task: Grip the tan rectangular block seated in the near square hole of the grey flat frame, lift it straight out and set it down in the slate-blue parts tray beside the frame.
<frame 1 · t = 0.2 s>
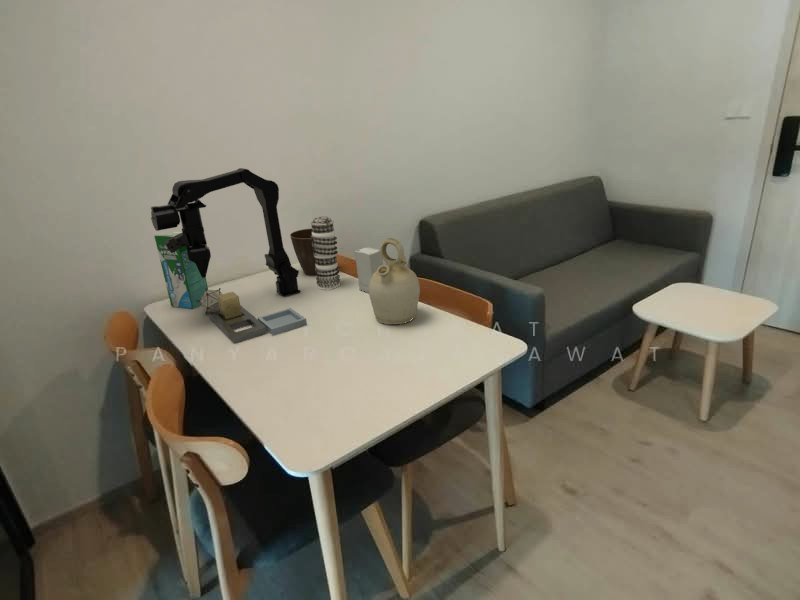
hand: (202, 273, 152), 14 cm above the table, tool pointing down, fingers open, 9 cm apart
jug: (395, 317, 150), on the table
skincare box: (371, 291, 172), on the table
patterned tower model: (328, 286, 178), on the table
game die: (215, 312, 160), on the table
milk carton: (191, 303, 168), on the table
parts tray: (282, 324, 149), on the table
plant pot: (314, 273, 193), on the table
grey flat frame: (238, 326, 149), on the table
tan rectangular block: (232, 321, 153), resting in grey flat frame
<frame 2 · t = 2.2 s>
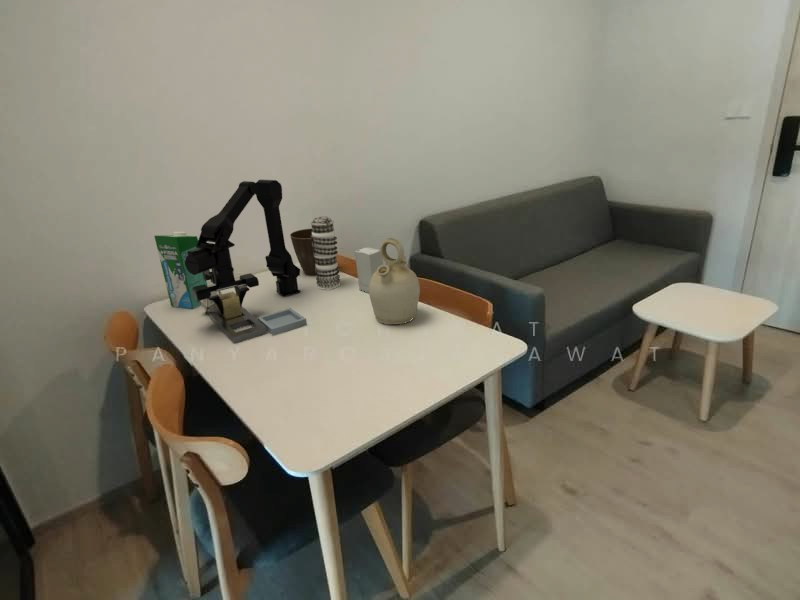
hand: (230, 312, 151), 3 cm above the table, tool pointing down, fingers closed on tan rectangular block, 5 cm apart
tan rectangular block: (232, 320, 153), resting in grey flat frame, touching gripper
everything else where it was.
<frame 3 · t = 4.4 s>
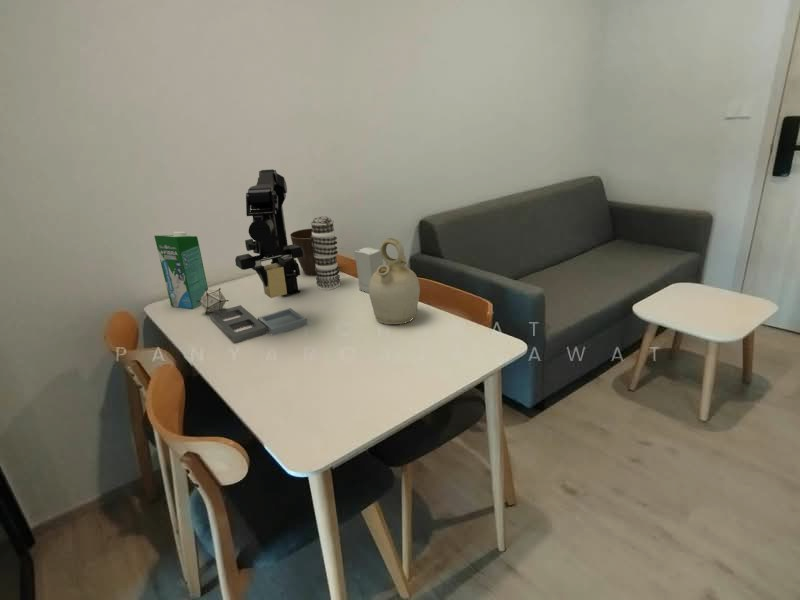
hand: (274, 284, 144), 13 cm above the table, tool pointing down, fingers closed on tan rectangular block, 5 cm apart
tan rectangular block: (275, 293, 145), point 10 cm above the table, touching gripper
everything else where it was.
when the fingers open (5 cm above the table, at t = 6.4 s): tan rectangular block drops 1 cm, resting on parts tray.
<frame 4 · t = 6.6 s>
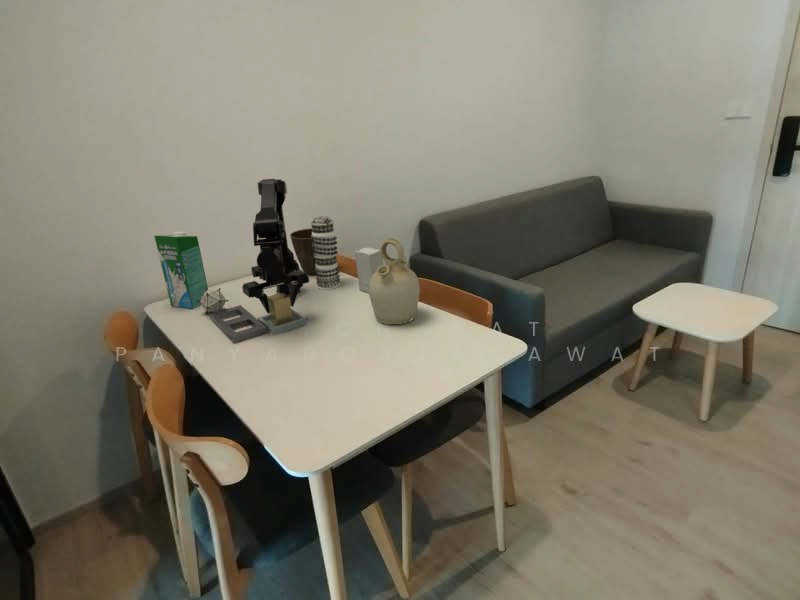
hand: (280, 309, 147), 5 cm above the table, tool pointing down, fingers open, 7 cm apart
tan rectangular block: (282, 322, 149), resting on parts tray
everything else where it was.
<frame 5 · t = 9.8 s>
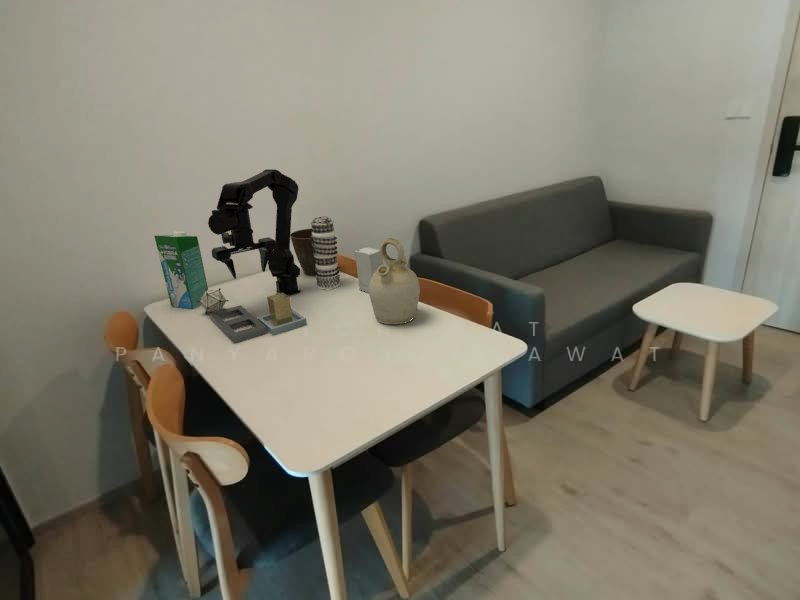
hand: (249, 275, 153), 13 cm above the table, tool pointing down, fingers open, 9 cm apart
nothing on the table moved.
at the end: tan rectangular block inside the target area on the parts tray (0.0 cm from its centre), point 0.5 cm above the parts tray's base; tan rectangular block tilted 0°; the gripper is holding nothing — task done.
